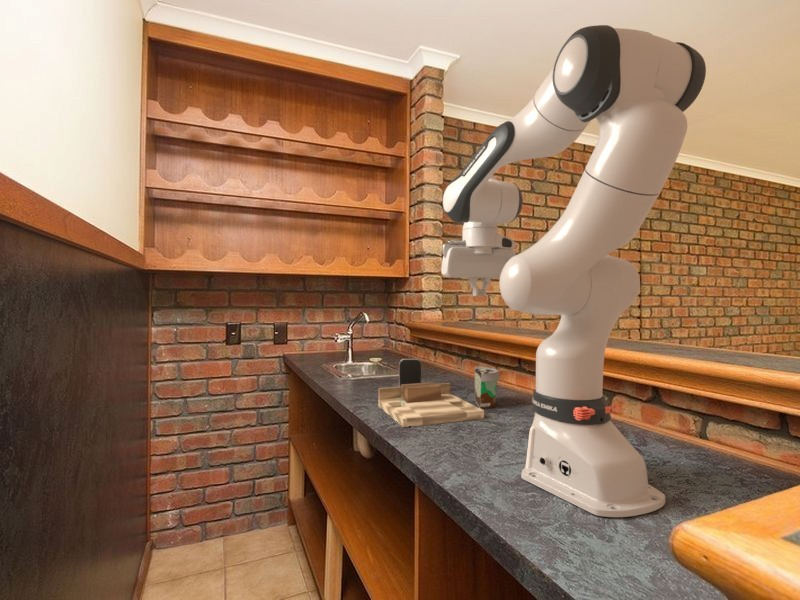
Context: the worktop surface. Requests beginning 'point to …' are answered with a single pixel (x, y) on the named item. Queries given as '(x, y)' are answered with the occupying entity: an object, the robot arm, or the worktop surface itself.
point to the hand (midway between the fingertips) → (479, 296)
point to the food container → (485, 386)
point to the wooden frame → (427, 408)
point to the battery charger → (409, 371)
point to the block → (420, 392)
